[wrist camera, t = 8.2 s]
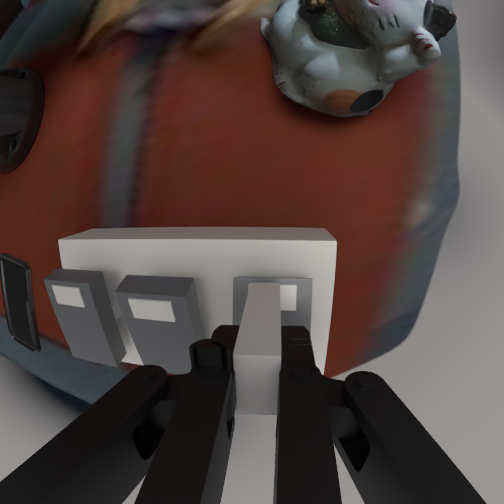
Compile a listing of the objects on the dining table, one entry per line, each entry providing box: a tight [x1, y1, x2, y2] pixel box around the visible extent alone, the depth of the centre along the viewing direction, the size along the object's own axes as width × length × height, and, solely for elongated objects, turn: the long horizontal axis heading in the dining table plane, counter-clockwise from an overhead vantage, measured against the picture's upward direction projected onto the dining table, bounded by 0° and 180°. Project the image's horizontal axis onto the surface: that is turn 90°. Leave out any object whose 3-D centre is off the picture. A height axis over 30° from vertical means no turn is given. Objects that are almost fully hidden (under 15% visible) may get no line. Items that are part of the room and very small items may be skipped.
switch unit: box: [58, 227, 337, 375], centre depth 25 cm, size 24×12×8 cm, turn 90°
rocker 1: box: [44, 268, 127, 368], centre depth 20 cm, size 8×5×2 cm, turn 0°
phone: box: [0, 253, 41, 353], centre depth 32 cm, size 8×1×15 cm
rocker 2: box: [114, 275, 205, 375], centre depth 20 cm, size 8×5×2 cm, turn 1°
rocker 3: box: [233, 276, 313, 332], centre depth 19 cm, size 8×5×2 cm, turn 0°
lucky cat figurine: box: [260, 0, 457, 117], centre depth 16 cm, size 15×12×14 cm
